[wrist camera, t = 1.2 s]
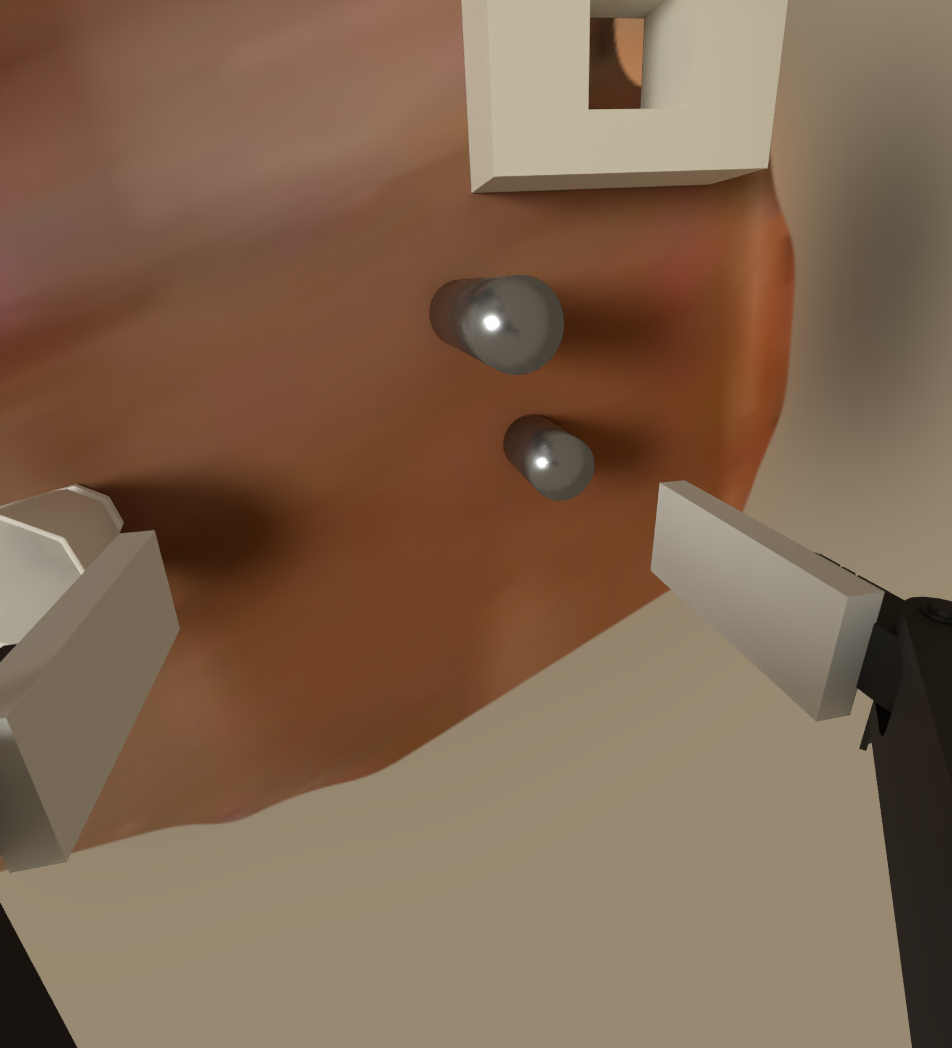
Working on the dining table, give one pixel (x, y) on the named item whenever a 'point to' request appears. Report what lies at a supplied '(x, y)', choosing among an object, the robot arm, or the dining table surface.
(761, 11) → the hole block
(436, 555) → the dining table surface
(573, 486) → the short pin
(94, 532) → the cup
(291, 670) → the dining table surface
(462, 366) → the dining table surface
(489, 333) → the long pin
